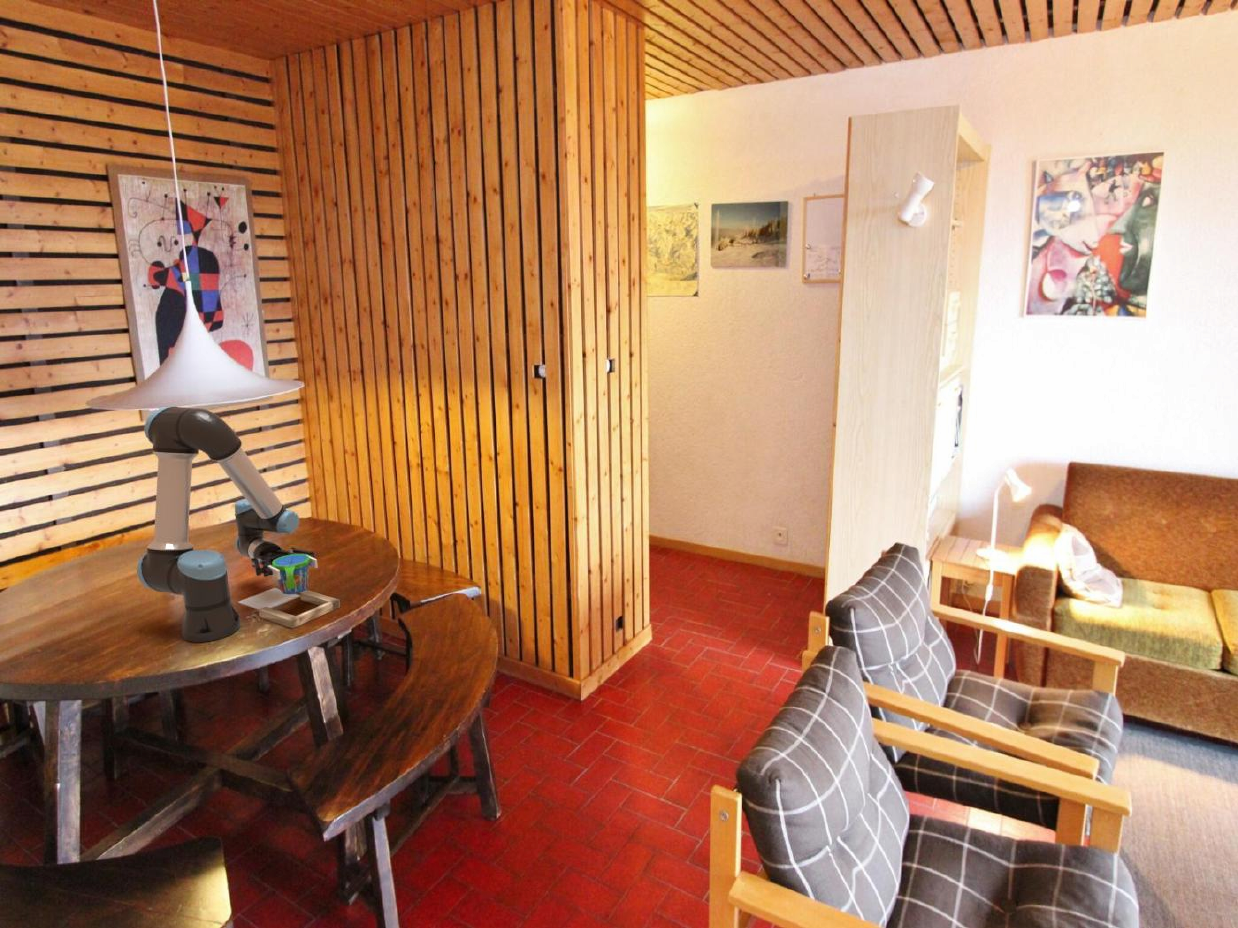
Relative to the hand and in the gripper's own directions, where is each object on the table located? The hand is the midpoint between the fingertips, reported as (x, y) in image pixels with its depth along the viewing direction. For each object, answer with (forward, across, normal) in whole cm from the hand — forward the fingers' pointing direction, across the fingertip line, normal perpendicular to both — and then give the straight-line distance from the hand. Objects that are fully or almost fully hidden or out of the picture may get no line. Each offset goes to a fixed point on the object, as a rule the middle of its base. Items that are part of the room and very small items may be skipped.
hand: (298, 569), depth 227 cm
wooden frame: (-1, 0, -14) cm, 14 cm away
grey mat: (-18, +2, -14) cm, 23 cm away
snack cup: (-4, 0, -8) cm, 9 cm away
